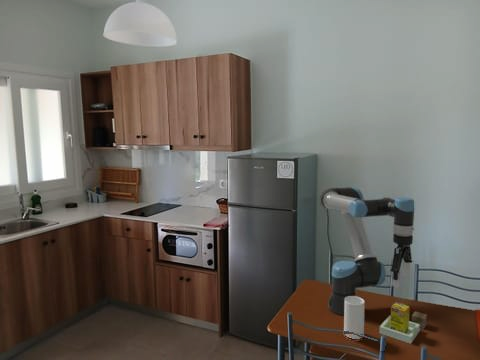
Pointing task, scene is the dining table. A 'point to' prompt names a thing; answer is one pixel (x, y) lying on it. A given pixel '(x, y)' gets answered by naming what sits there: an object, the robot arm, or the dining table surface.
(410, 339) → the tray
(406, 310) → the supplement box
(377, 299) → the dining table surface
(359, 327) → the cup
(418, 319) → the walnut block
